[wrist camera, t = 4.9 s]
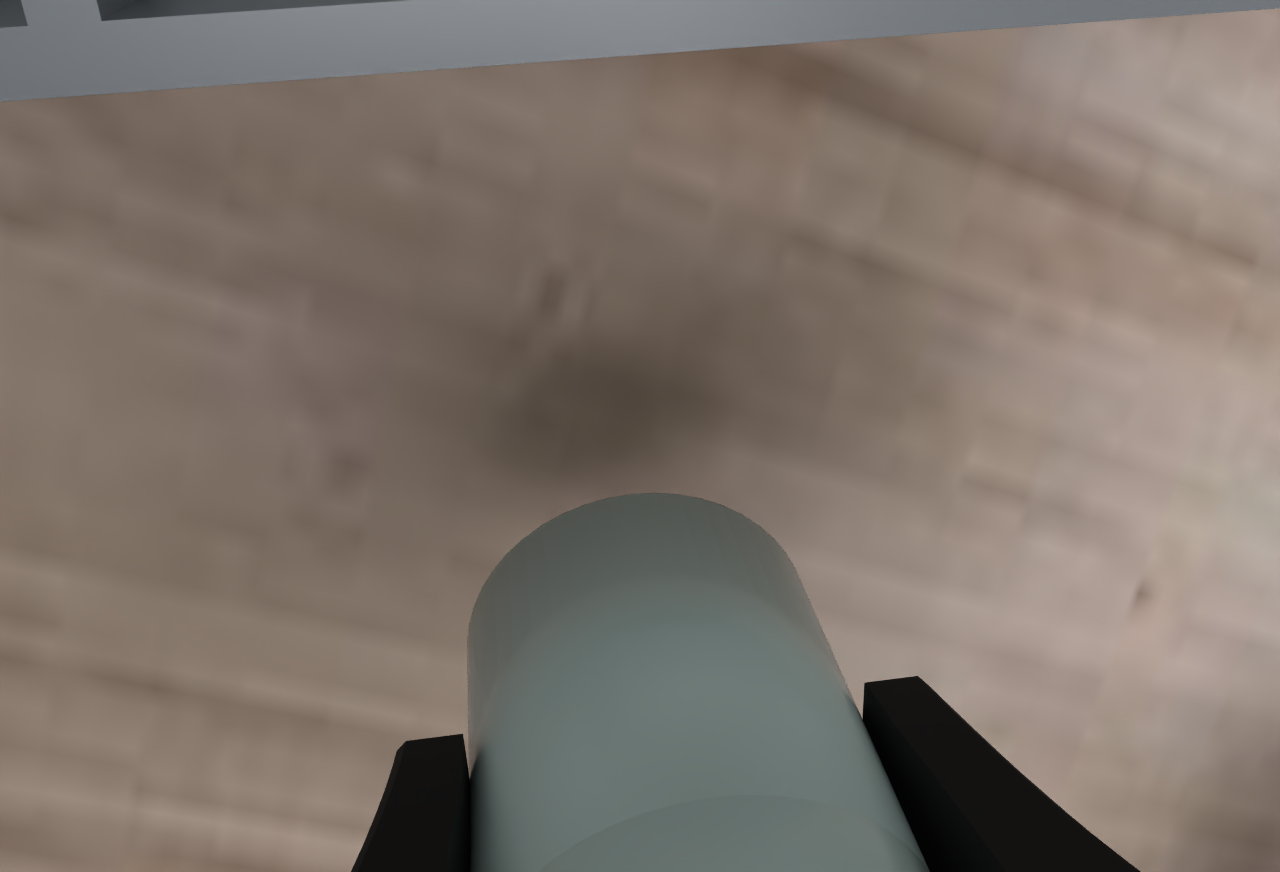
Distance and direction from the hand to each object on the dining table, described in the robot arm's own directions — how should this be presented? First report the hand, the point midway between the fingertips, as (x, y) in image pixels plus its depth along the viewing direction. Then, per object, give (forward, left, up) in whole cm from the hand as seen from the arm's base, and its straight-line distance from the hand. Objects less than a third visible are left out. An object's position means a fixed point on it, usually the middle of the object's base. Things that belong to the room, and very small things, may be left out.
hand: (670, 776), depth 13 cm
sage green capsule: (0, 0, -2) cm, 2 cm away
